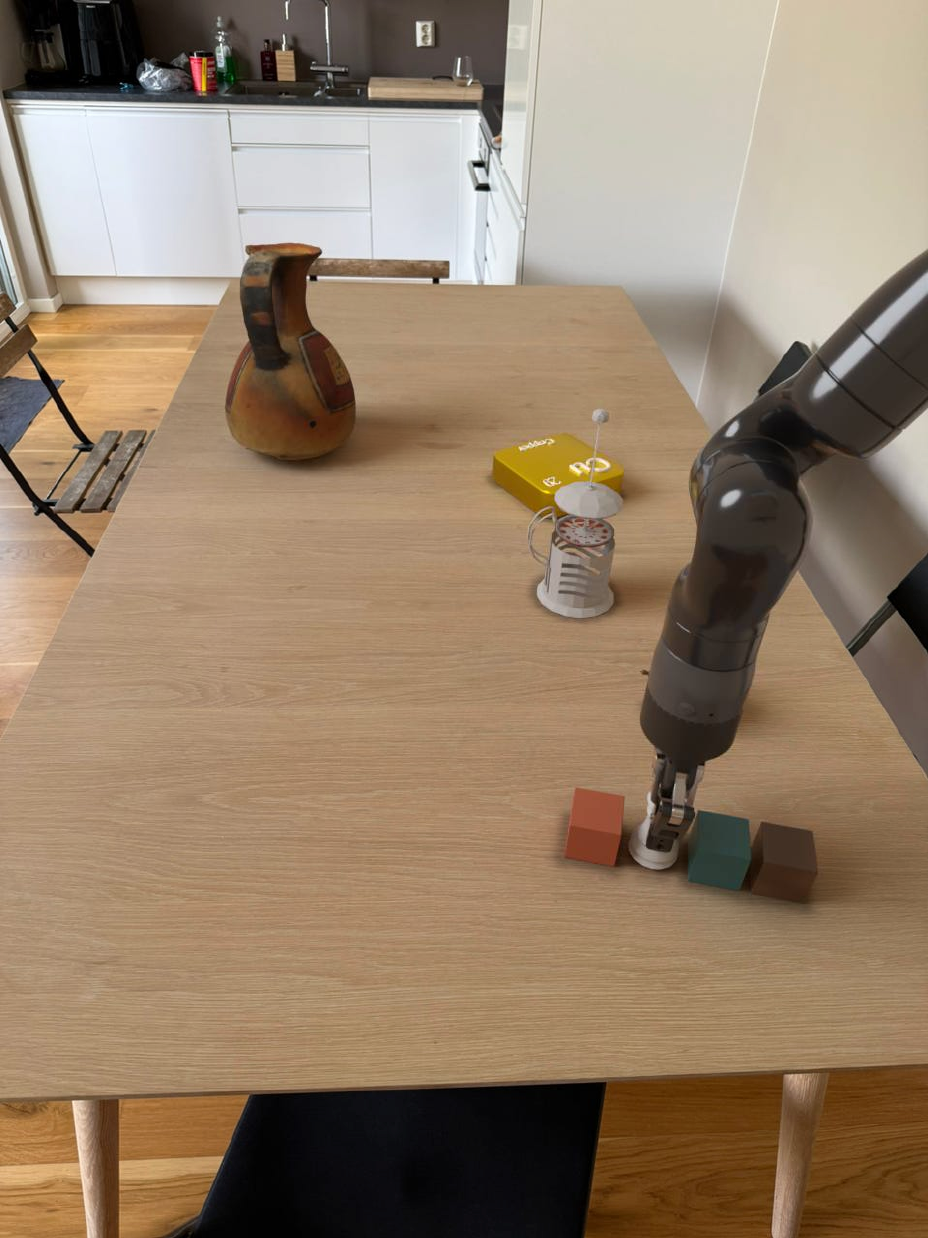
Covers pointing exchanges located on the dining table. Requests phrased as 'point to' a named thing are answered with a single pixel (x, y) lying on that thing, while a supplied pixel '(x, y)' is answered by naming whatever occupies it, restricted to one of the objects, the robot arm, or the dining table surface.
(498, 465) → the element tile
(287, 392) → the ceramic pitcher
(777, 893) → the walnut block
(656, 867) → the rook chess piece
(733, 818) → the teal block
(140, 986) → the dining table surface
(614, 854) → the terracotta block
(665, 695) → the robot arm
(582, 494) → the french press
